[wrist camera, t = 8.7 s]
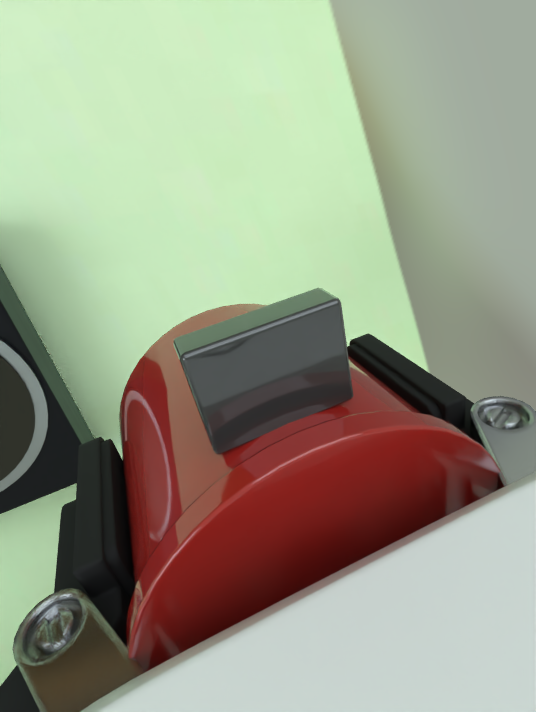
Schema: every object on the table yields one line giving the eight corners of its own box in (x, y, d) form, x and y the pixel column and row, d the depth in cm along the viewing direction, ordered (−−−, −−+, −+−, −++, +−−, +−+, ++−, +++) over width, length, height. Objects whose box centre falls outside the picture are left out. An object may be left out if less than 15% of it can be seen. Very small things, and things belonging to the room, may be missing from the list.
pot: (176, 565, 15) (239, 881, 8) (35, 293, 10) (-75, 565, 3) (358, 480, 16) (529, 692, 10) (318, 207, 11) (614, 281, 5)
